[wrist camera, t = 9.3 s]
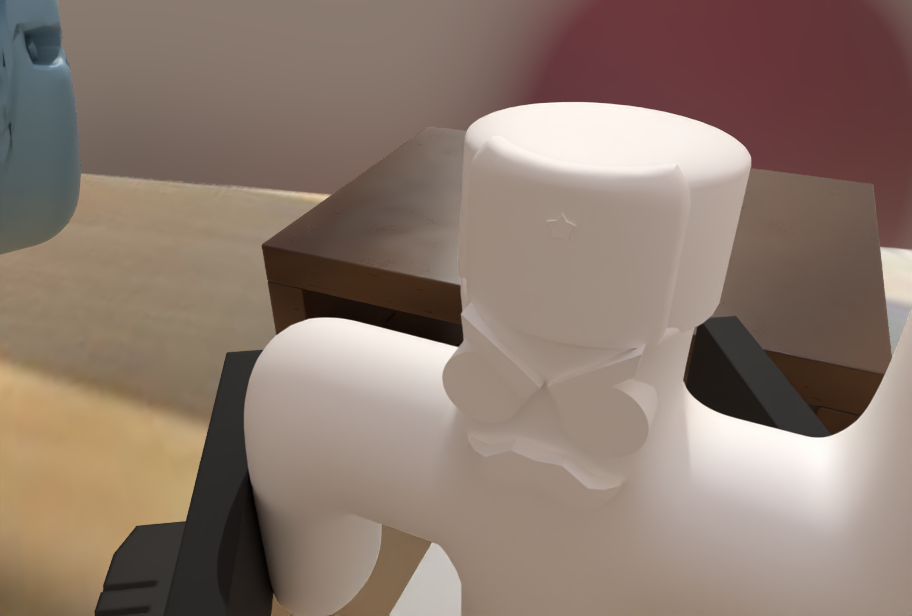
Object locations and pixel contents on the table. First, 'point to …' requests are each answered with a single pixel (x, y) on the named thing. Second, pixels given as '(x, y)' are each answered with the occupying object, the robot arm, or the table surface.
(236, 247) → the table surface
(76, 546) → the table surface
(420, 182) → the shelf stand
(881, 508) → the figurine
